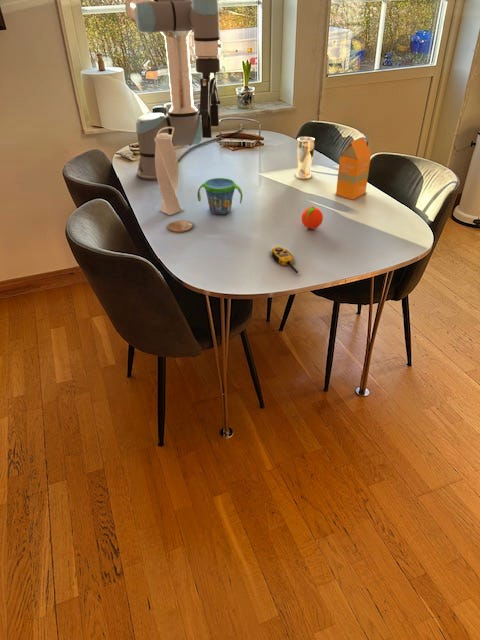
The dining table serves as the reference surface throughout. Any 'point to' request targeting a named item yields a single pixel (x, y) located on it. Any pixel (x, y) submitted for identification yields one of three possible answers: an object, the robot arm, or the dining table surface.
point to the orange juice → (353, 170)
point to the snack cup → (219, 194)
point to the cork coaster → (180, 226)
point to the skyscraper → (167, 172)
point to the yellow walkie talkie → (283, 257)
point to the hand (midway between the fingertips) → (211, 131)
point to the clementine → (312, 217)
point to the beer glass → (304, 156)
